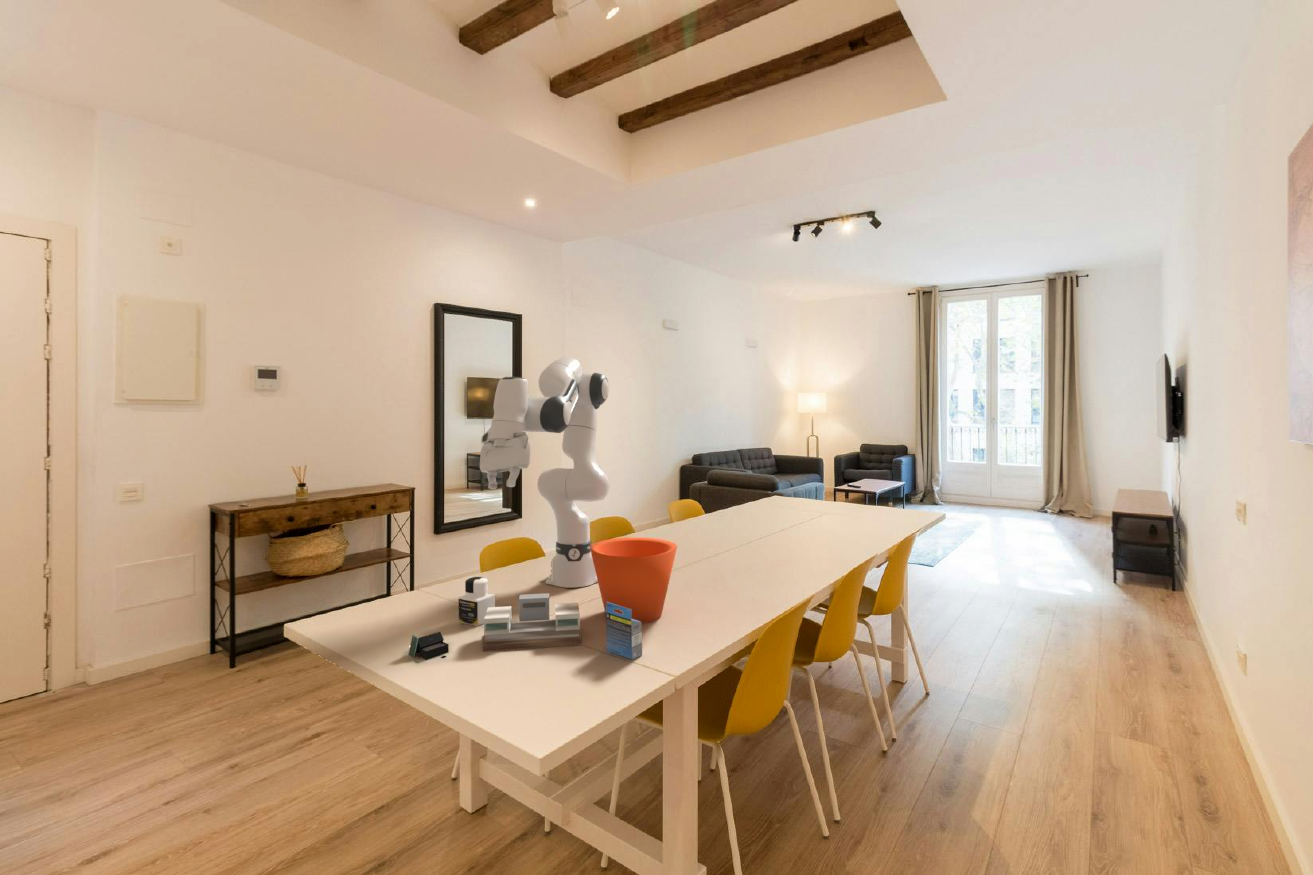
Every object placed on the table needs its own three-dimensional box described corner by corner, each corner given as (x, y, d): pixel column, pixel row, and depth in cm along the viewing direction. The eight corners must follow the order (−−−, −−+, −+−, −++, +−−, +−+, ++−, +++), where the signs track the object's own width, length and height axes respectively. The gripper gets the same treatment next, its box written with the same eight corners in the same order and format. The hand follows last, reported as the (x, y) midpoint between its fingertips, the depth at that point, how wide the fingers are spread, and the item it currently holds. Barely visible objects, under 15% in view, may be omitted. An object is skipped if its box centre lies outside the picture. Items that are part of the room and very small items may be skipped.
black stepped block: (442, 639, 161) (442, 618, 161) (476, 653, 151) (476, 631, 151) (386, 656, 149) (386, 634, 149) (419, 673, 140) (419, 649, 139)
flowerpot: (668, 632, 164) (668, 558, 163) (578, 626, 169) (577, 554, 168) (683, 603, 188) (683, 539, 187) (604, 598, 193) (604, 535, 192)
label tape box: (643, 655, 149) (642, 605, 148) (631, 660, 145) (631, 609, 145) (616, 646, 154) (616, 597, 154) (605, 651, 151) (604, 601, 151)
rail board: (487, 633, 163) (487, 605, 163) (579, 628, 167) (579, 600, 167) (482, 651, 151) (482, 621, 151) (581, 644, 155) (581, 615, 155)
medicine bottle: (458, 622, 172) (457, 579, 171) (476, 614, 178) (476, 573, 178) (477, 626, 168) (476, 583, 168) (495, 618, 175) (495, 576, 174)
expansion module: (520, 623, 171) (519, 594, 171) (549, 621, 173) (549, 593, 172) (519, 628, 167) (518, 599, 167) (549, 626, 168) (549, 597, 168)
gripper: (539, 433, 157) (533, 487, 154) (499, 442, 172) (493, 491, 169) (517, 428, 153) (510, 483, 150) (478, 437, 167) (471, 488, 164)
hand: (501, 487), depth 159 cm, fingers open, 8 cm apart
